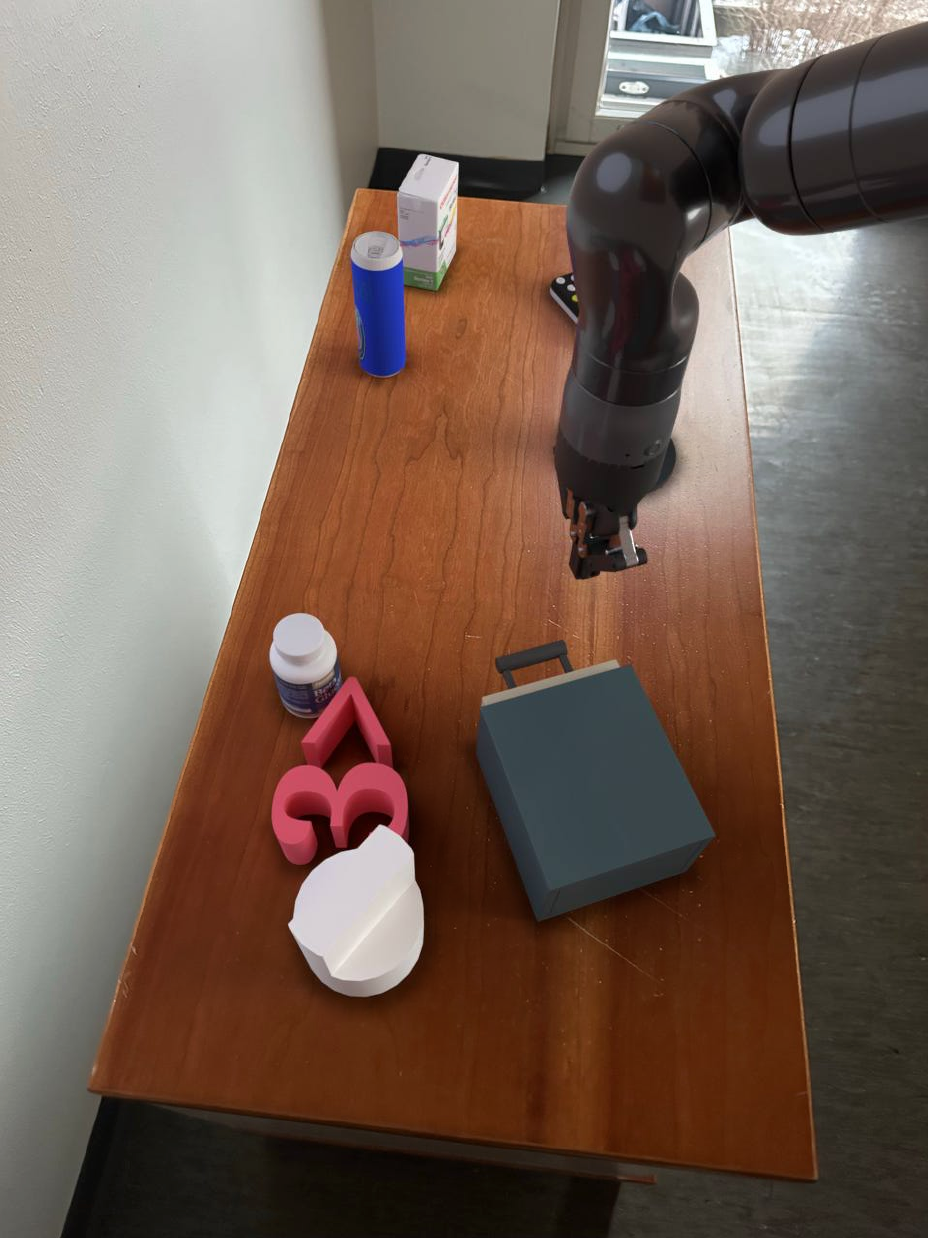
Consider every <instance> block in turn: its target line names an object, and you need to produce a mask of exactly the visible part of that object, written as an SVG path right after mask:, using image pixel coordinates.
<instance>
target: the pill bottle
mask: <svg viewBox="0 0 928 1238" xmlns="http://www.w3.org/2000/svg"><path fill="white" fill-rule="evenodd" d="M272 639H273V640H272V643H271V645H270V649H269V663H270V666H271V670H272V674H273V677H274V680H275V683H276V687H277V690H278V694H279V697H280V700H281V702H282V704H283V706H284V707H285V709H286V710H287V711H288V712H289V713H290V714H292V715H293V716H296V717H298V718H303V719H318V718H319V717H320V716H321V714H322V713H323V712H324V710H325V709H326V707H327V706H328V705H329V703H330V702H331V701H332V699H333V698H334V697H335V695H336V694H337V692H338V691H339V690H340V688H341V687H342V686H343V680H342V673H341V668H340V662H339V656H338V655H339V654H338V650H337V646H336V642H335V640H334V638H333V636H332V635H331V634H330V633H329V631H327V629H325V628H324V625H323V623H322V622H321V621H320V620H319V619H318V618H317V617H315V616H314V615H312V614H309V613H304V612H298V613H293V614H289V615H287V616H285V617H283V618H282V619H281V620H280V621H279V622H278V623H277V624H276V626H275V627H274V630H273V633H272Z"/></svg>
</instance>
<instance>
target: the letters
mask: <svg viewBox="0 0 928 1238" xmlns="http://www.w3.org/2000/svg"><path fill="white" fill-rule="evenodd" d="M355 722H356V725H357V727H358V729H359V731H360V733H361V735H362V736H363V737H362V738H363V739H364V741H365V743H366V745H367V747H368V749H369V750H370V753H371V755H372V757H373V759H374V761H375V762H363V763H360V764H358V765H357V764H356V765H355V766H354V767H352V768H351V769H349V770H348V771H347V772H346V774H345V775H344V776H343V778H342V780H340V783H339V786H338V788H337V787H336V785H335V783H334V781H333V779H332V778H331V776H330V775H329V773H327V772H326V771H325V770H324V769H322V768H323V767H324V765H325V764H326V763H327V761H328V759H329V758H330V757H331V755H332V754H333V753H334V751H335V749H336V748H337V747H338V746H339V744H340V743H341V742H342V740H343V739H344V737H345V736H346V735H347V733H348V731H349V730H350V729H351V727H352V726H353V724H354V723H355ZM300 745H301V748H302V751H303V754H304V758H305V761H306V764H304V765H303V764H302V765H298V766H295V767H293V768H291V769H289V770H287V772H286V773H285V774H284V775H283V776H282V777H281V778H280V780H279V782H278V783H277V786H276V789H275V792H274V794H273V799H272V804H271V805H272V806H271V823H272V829H273V832H274V834H275V836H276V838H277V840H278V843H279V845H280V847H281V849H282V852H283V855H284V856H285V858H286V859H287V860H288V862H290V863H291V864H293V865H296V866H303V865H304V866H305V865H307V864H309V863H310V862H312V861H313V860H314V858H315V856H316V854H317V851H318V846H319V842H318V839H317V836H316V833H315V830H314V827H313V824H312V821H311V820H302V819H300V818H301V817H304V816H306V815H307V816H308V815H318V816H323V817H326V818H329V819H330V824H329V826H330V831H331V834H332V837H333V841H334V845H335V848H342V849H343V848H348V842H349V835H350V830H351V827H352V824H353V823H354V822H355V820H356V819H357V818H358V817H359V816H361V815H363V814H365V813H380V814H384V815H387V816H388V817H390V818H391V819H392V820H391V821H390V824H389V825H388V826H386V827H387V828H389V829H390V830H392V831H393V832H395V833H396V834H398V835H400V837H401V838H402V839H403V840H404V841H405V842H406V843H407V844H408V843H409V837H410V817H409V802H408V793H407V788H406V786H405V785H406V784H405V783H404V781H403V779H402V777H401V775H400V774H399V773H398V771H396V770H394V766H393V765H394V763H393V755H392V745H391V743H390V740H389V739H388V737H387V735H386V732H385V731H384V729H383V727H382V725H381V723H380V721H379V719H378V716H377V715H376V713H375V711H374V710H373V708H372V706H371V703H370V702H369V700H368V698H367V696H366V694H365V691H364V690H363V688H362V686H361V684H360V682H359V680H358V679H357V677H356V676H348V677H347V679H346V680H345V681H344V683H342V687H341V688H340V690H339V691H338V692H337V694H336V695H335V697H334V698H333V699H332V701H331V702H330V703H329V705H328V706H327V707H326V709H325V710H324V712H323V713H322V714H321V716H320V717H317V720H316V721H315V722H314V724H313V725H312V726H311V728H310V729H309V731H308V732H307V733H306V734H305V736H304V737H303V738H302V740H301V742H300ZM372 832H373V831H370V832H369V835H368V837H369V836H370V834H371V833H372ZM408 845H409V844H408Z"/></svg>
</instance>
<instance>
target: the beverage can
mask: <svg viewBox="0 0 928 1238" xmlns="http://www.w3.org/2000/svg"><path fill="white" fill-rule="evenodd" d="M350 266H351V276H352V289H353V302H354V311H355V314H354V315H355V323H356V336H357V337H356V338H357V346H358V359H359V365H360V367H361V369H362V370H363V371H365V372H366V373H367V374H368V375H370V376H372V377H375V378H379V379H385V378H386V379H387V378H391V377H393V376H396V375H397V374H399V373H400V372H401V371H402V370H403V369H404V367H405V365H406V362H407V350H406V348H407V347H406V318H405V312H406V311H405V285H404V277H403V252H402V249H401V247H400V243H399V239H398V238H396V237H395V236H394V235H393V234H390V233H388V232H385V231H378V230H377V231H376V230H375V231H367V232H365V233H362V234H360V235H358V236H356V238H355V239H354V240H353V242H352V246H351V250H350Z"/></svg>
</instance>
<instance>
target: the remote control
mask: <svg viewBox="0 0 928 1238" xmlns="http://www.w3.org/2000/svg"><path fill="white" fill-rule="evenodd" d="M549 293H550V295H551V297H552V298H553V300H554V301H555V302H556V303H557V304H558V305H559V306H560V307H561V309H562V310H564V312H565V313H566V314H567V315H568V316H569V317H570V318H571V320H572V321H573V322H574V323H575V325H577V322H578V316H579V312H580V311H579V305H578V300H577V296H576V291H575V286H574V279H573V271H571V272H568V273H565V274H563V275H560V276H557V277H554V278H553V280H552V281H551V282H550V288H549Z"/></svg>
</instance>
